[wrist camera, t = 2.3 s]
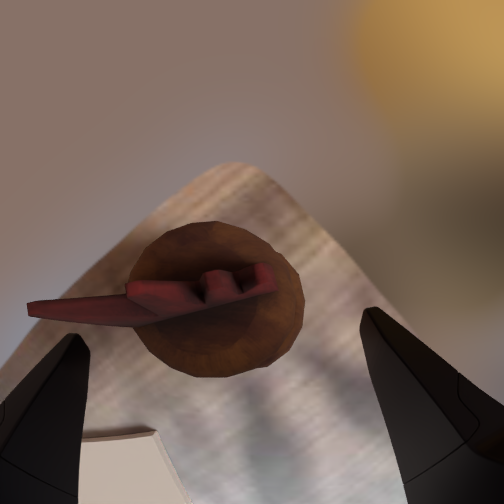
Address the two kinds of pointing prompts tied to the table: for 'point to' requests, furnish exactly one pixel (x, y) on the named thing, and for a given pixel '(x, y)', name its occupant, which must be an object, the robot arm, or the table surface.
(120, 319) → the wooden figurine
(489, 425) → the robot arm
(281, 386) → the table surface
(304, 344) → the table surface
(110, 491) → the display tile
